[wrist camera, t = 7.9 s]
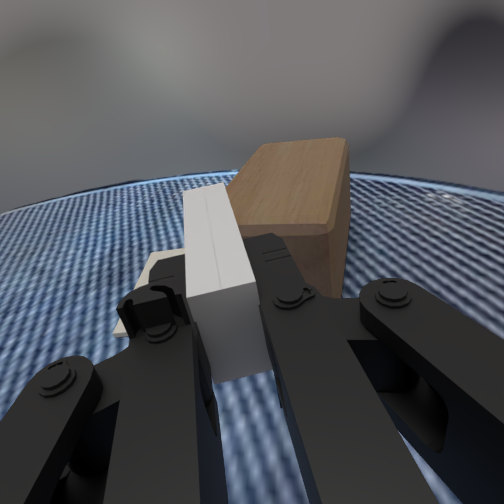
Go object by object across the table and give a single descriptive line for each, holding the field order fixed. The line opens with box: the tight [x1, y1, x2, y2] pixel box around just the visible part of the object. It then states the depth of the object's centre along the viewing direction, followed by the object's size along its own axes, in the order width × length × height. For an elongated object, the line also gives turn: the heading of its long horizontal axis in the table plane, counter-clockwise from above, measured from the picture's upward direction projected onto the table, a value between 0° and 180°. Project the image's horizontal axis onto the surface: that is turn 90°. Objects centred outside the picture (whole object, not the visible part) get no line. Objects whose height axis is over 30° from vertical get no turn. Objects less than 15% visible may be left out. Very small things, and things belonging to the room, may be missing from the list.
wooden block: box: [225, 137, 351, 298], centre depth 35 cm, size 10×10×20 cm
